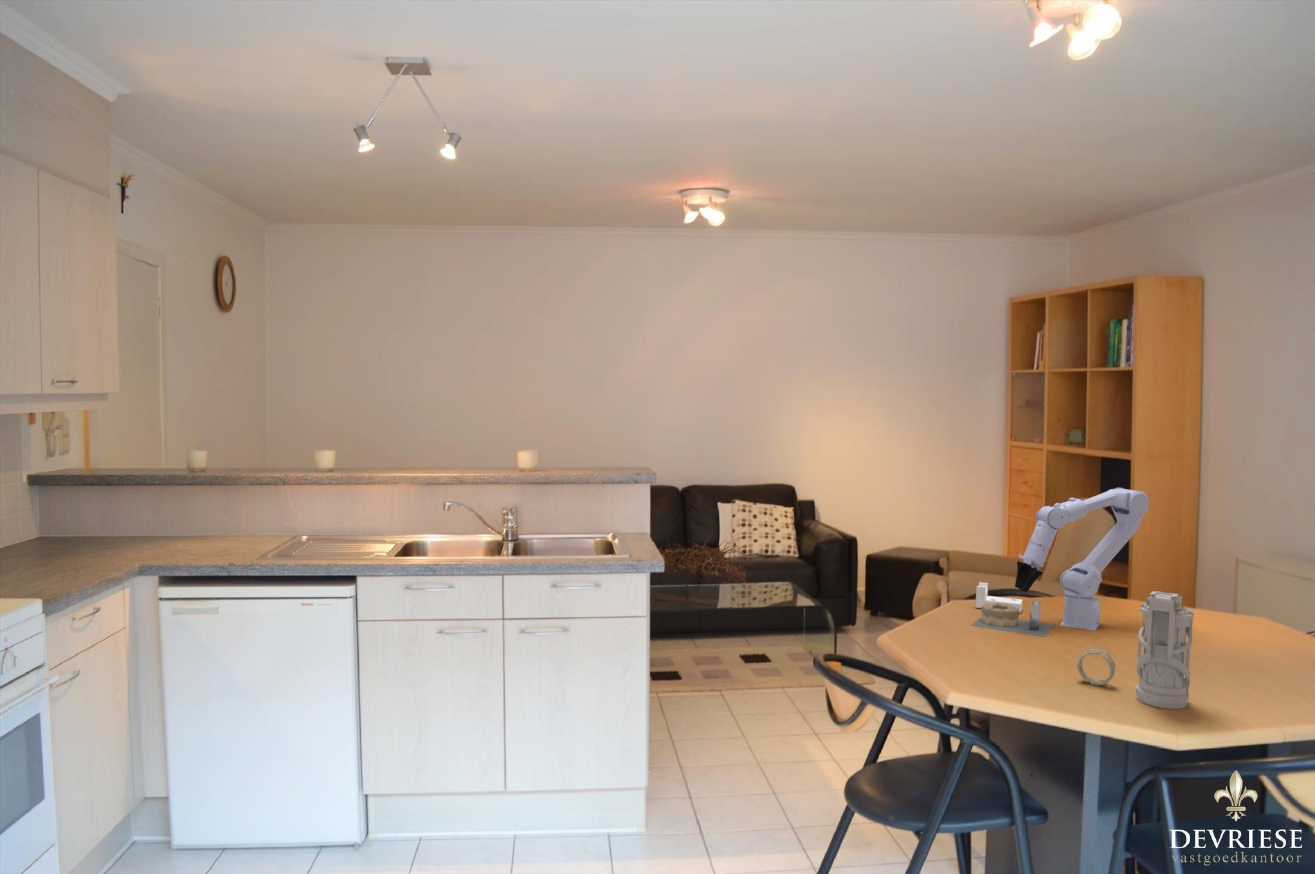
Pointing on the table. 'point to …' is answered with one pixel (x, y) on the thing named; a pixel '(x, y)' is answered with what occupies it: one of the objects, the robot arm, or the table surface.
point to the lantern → (1164, 651)
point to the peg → (1034, 615)
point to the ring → (999, 615)
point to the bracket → (994, 598)
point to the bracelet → (1105, 656)
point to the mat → (1018, 628)
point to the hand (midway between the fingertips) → (1020, 589)
